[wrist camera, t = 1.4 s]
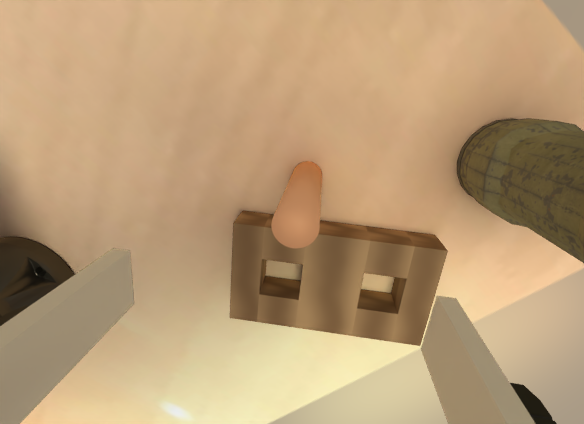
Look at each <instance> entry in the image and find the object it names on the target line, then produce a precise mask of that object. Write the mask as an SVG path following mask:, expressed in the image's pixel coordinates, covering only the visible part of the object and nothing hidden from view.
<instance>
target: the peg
mask: <svg viewBox="0 0 584 424" xmlns="http://www.w3.org/2000/svg"><path fill="white" fill-rule="evenodd" d="M321 187H322V172H321V169H320V168H319V166H318V165H316V164H315V163H313V162H309V161H305V162H302V163H300V164H298V165H297V166H296V167H295V169H294V171H293V173H292V176H291V178H290V180H289V182H288V185H287V187H286V189H285V191H284V194H283V196H282V198H281V200H280V203H279V205H278V207H277V209H276V212H275V214H274V216H273V219H272V223H271V227H272V232H273V234H274V236H275V238H276V239H277V240H278V241H279V242H280V243H281V244H283V245H284V246H286V247H289V248H303V247H306V246H308V245H310V244H311V243H312V242H313V241H314V240H315V239H316V238H317V236H318V233H319V228H320V208H321Z"/></svg>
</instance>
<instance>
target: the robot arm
mask: <svg viewBox="0 0 584 424" xmlns="http://www.w3.org/2000/svg"><path fill="white" fill-rule="evenodd" d="M133 304H134V295H133V282H132V269H131V256H130V250H123V249H116V248H113V249H111V250H110V251H108V252H107V253H106V254H104V255H103V256H101V257H100V258H98V259H97V260H95V261H94V262H93V263H91V264H90V265H88V266H87V267H85V268H84V269H82V270H81V271H80V272H78V273H77V274H75V275H74V274H73V272H72V271H71V269H70V268H69V267H68V266H67V264H66V263H65V262H64V261H63V260H62V259H61V258H60V257H59V256H58V255H56V254H55V253H54V252H52V251H51V250H50V249H48V248H46V247H45V246H43V245H41V244H39V243H37V242H34V241H32V240H28V239H25V238H20V237H3V238H0V424H20V423H21V422H22V421H23V420H24V419H25V418H26V417H27V416H28V415H29V413H30V412H31V411H32V410H33V409H34V408H35V407H36V406H37V405H38V404H39V403H40V402H41V401H42V400H43V399H44V398H45V397H46V396H47V395H48V394H49V392H50V391H51V390H52V389H53V388H54V387H55V386H56V385H57V384H58V383H59V382H60V381H61V380H62V379H63V378H64V377H65V376H66V375H67V374H68V373H69V371H70V370H71V369H72V368H73V367H74V366H75V365H76V364H77V363H78V362H79V361H80V360H81V359H82V358H83V357H84V356H85V355H86V354H87V353H88V352H89V350H90V349H91V348H92V347H93V346H94V345H95V344H96V343H97V342H98V341H99V340H100V339H101V338H102V337H103V336H104V335H105V334H106V333H107V332H108V331H109V329H110V328H111V327H112V326H113V325H114V324H115V323H116V322H117V321H118V320H119V319H120V318H121V317H122V316H123V315H124V314H125V313H126V312H127V311H128V310H129V309H130V307H131V306H132V305H133ZM421 351H422V353H423V356H424V359H425V361H426V364H427V367H428V369H429V372H430V375H431V378H432V381H433V383H434V386H435V389H436V392H437V394H438V397H439V400H440V402H441V405H442V408H443V411H444V413H445V416H446V419H447V422H448V424H556V422H555V421H553V420H552V417H551V415H550V414H549V413H548V411H547V409H546V408H545V407H544V405H543V404H542V402H541V401H540V400H539V399H538V398H537V397H536V396H535V395H534V394H532V393H531V392H530V391H529V390H528V389H527V388H526V387H525V386H524V385H520V384H514V383H509V381H508V380H507V378H506V376H505V375H504V373H503V372H502V370H501V368H500V367H499V365H498V364H497V362H496V361H495V359H494V357H493V356H492V354H491V353H490V351H489V349H488V348H487V346H486V345H485V343H484V342H483V340H482V339H481V337H480V335H479V334H478V332H477V331H476V329H475V327H474V326H473V324H472V323H471V321H470V320H469V318H468V316H467V315H466V313H465V312H464V310H463V308H462V307H461V305H460V304H459V302H458V301H457V299H456V298H449V297H442V296H437V297H436V301H435V304H434V307H433V311H432V314H431V317H430V321H429V324H428V327H427V331H426V334H425V337H424V341H423V344H422V347H421Z"/></svg>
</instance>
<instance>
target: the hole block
mask: <svg viewBox="0 0 584 424" xmlns="http://www.w3.org/2000/svg"><path fill="white" fill-rule="evenodd" d="M273 216H274V215H273V214H265V213H257V212H249V211H242V212H241V214H240V215H239V216H238V218H237V219H236V220H235V222H234V223H233V247H232V273H231V298H230V318H235V319H242V320H248V321H255V322H262V323H269V324H275V325H282V326H289V327H296V328H303V329H309V330H316V331H323V332H330V333H337V334H343V335H350V336H357V337H364V338H370V339H377V340H384V341H391V342H398V343H404V344H411V345H418V346H420V345H421V341H422V338H423V334H424V331H425V327H426V324H427V320H428V317H429V314H430V310H431V307H432V303H433V300H434V296H435V293H436V290H437V286H438V283H439V279H440V276H441V272H442V269H443V265H444V262H445V259H446V255H447V252H448V251H447V249H446V248H445V247H444V246H443V244H442V243H441V242H440V241H439V239H438V238H437V237H436V236H435V235H431V234H423V233H415V232H407V231H399V230H391V229H383V228H375V227H367V226H360V225H352V224H344V223H336V222H328V221H320V228H319V233H318V236H317V238H316V239H315V240H314V241H313V242H312V243H311V244H310V245H308V246H306V247H303V248H289V247H286V246H284V245H283V244H281V243H280V242H279V241H278V240H277V239H276V238H275V236H274V234H273V232H272V227H271V223H272V219H273ZM267 260H273V261H280V262H287V263H295V264H302V265H303V269H302V277H301V281H297V280H290V279H282V278H275V277H268V276H265V274H266V261H267ZM364 273H369V274H376V275H383V276H391V277H395V279H394V283H393V288H392V292H391V294H390V293H383V292H376V291H369V290H362V289H361V285H362V280H363V275H364Z"/></svg>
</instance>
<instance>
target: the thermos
mask: <svg viewBox="0 0 584 424" xmlns="http://www.w3.org/2000/svg"><path fill="white" fill-rule="evenodd" d="M457 175H458V178H459V181H460V184H461V186H462V187H463V188H464V189H465V191H466V192H467V193H468V194H469V195H470V196H472V197H474V198H475V199H476V201H477V202H478V203H479V204H481V205H482V206H484V207H485V208H487V209H488V210H490V211H491V212H492V213H494V214H496V215H497V216H499V217H501V218H502V219H504V220H506V221H507V222H509V223H511V224H514V225H519V226H524V227H528V228H529V229H531V230H533V231H534V232H536V233H537V234H539V235H540V236H542V237H544V238H545V239H547V240H548V241H550V242H551V243H553V244H555V245H556V246H558V247H559V248H561V249H562V250H564V251H566V252H567V253H569V254H570V255H572V256H574V257H575V258H577V259H578V260H580V261H581V262H583V263H584V131H582V130H581V129H580V128H579V127H577V126H576V125H574V124H569V123H564V122H558V121H549V120H539V119H520V120H518V119H505V120H497V121H495V122H492V123H490V124H488V125H485V126H483V127H482V128H480V129H479V130H478V131H477V132H475V133H474V134H473V135H472V136H471V137H470V138H469V139H468V141H467V142H466V143H465V145H464V146H463V147H462V150H461V152H460V155H459V158H458V161H457Z"/></svg>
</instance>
